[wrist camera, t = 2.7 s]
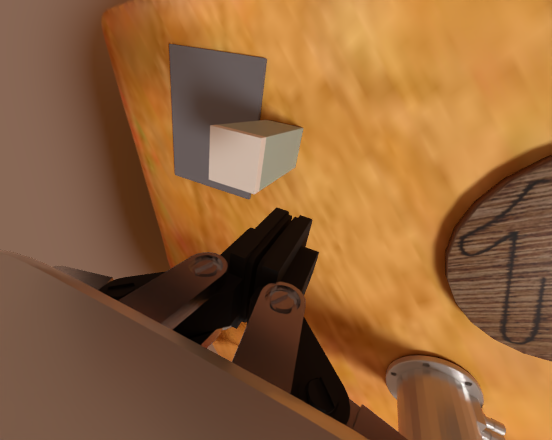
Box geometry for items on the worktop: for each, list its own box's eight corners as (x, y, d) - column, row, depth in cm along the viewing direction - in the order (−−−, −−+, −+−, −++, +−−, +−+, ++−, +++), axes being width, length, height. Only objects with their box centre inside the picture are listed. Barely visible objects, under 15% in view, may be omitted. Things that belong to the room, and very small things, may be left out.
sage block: (303, 127, 30) (261, 138, 20) (295, 167, 32) (254, 194, 22) (266, 119, 31) (210, 125, 21) (261, 157, 33) (208, 179, 23)
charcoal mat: (266, 59, 28) (265, 58, 28) (250, 198, 37) (248, 199, 36) (171, 44, 32) (169, 43, 31) (177, 174, 40) (174, 174, 40)
